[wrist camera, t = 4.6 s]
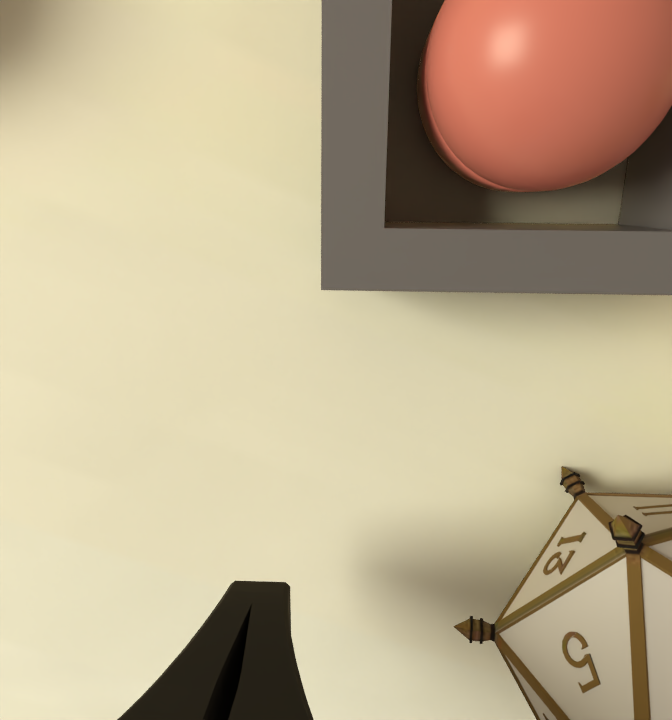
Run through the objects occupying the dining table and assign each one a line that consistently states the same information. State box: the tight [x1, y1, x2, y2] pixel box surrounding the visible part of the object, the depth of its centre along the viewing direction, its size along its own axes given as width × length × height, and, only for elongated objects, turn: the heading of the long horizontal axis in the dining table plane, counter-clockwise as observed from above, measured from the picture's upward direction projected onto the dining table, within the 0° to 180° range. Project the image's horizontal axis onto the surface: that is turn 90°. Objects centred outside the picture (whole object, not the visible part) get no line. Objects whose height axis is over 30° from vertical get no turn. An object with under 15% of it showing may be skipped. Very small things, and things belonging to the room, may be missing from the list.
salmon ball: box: [417, 0, 672, 192], centre depth 10 cm, size 4×4×4 cm
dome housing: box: [321, 0, 672, 295], centre depth 11 cm, size 8×8×3 cm
